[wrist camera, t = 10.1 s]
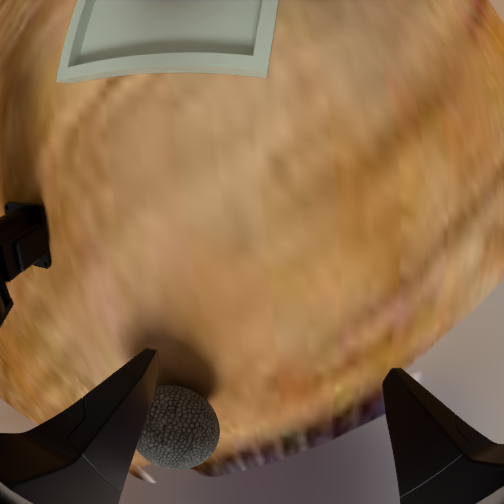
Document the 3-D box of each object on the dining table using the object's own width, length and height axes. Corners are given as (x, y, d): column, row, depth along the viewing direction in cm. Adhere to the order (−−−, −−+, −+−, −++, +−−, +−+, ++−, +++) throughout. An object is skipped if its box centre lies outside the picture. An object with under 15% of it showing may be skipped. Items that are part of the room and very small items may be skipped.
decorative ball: (140, 400, 30) (118, 462, 21) (144, 354, 26) (112, 430, 17) (212, 422, 31) (204, 487, 22) (234, 382, 27) (226, 463, 18)
